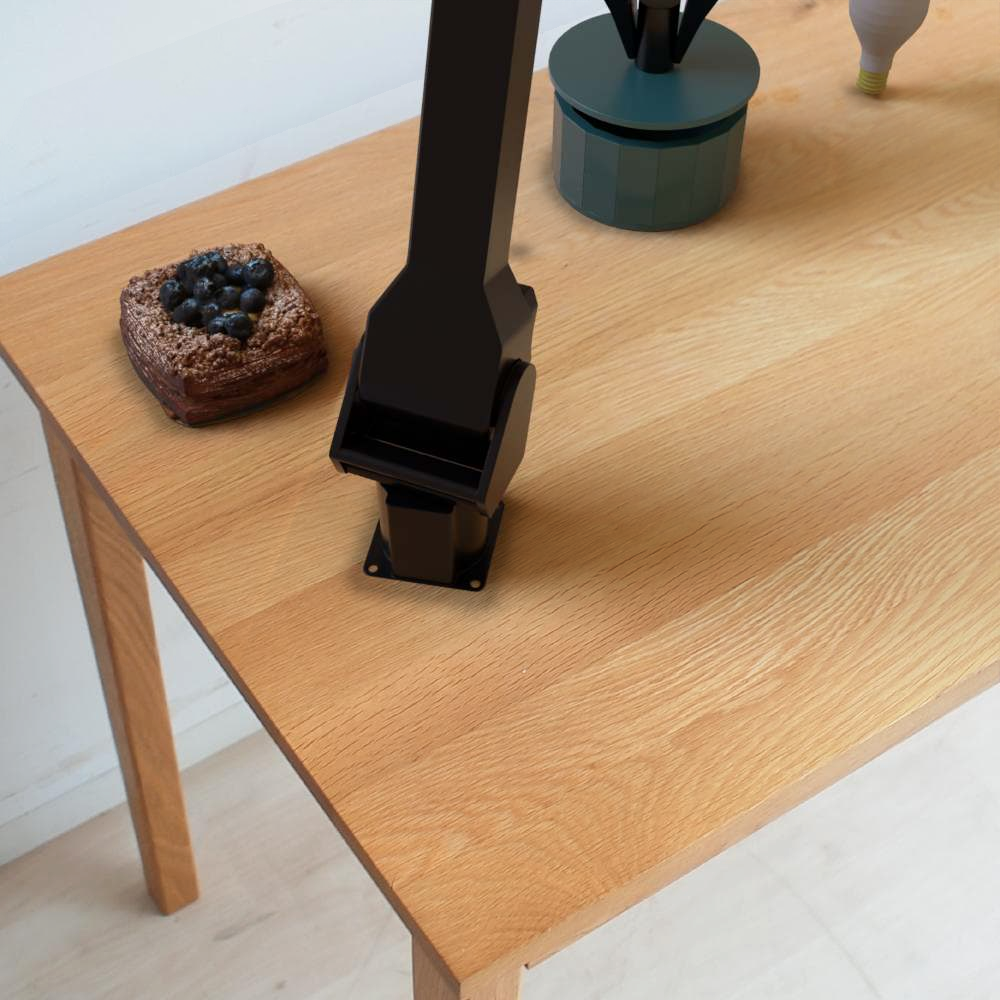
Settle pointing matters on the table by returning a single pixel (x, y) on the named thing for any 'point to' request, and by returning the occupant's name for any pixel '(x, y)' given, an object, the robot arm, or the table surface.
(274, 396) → the pastry
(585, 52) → the lid
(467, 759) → the table surface
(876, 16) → the light bulb
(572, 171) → the pot
